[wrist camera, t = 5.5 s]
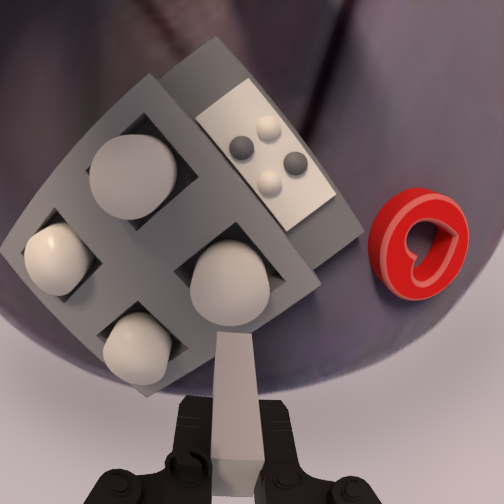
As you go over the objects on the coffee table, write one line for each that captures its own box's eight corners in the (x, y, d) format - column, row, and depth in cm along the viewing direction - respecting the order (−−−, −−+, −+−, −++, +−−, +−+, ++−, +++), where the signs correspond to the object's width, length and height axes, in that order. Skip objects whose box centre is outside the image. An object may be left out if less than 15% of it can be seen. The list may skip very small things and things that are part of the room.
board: (26, 233, 23) (-2, 250, 19) (217, 43, 19) (214, 23, 15) (155, 366, 29) (146, 397, 25) (355, 224, 25) (378, 241, 21)
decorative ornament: (464, 236, 26) (483, 247, 24) (402, 304, 29) (416, 320, 26) (418, 165, 24) (439, 169, 21) (345, 243, 26) (359, 256, 23)
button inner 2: (94, 169, 19) (74, 175, 16) (146, 119, 18) (131, 116, 15) (139, 222, 20) (125, 236, 17) (193, 175, 19) (186, 181, 16)
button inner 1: (34, 246, 21) (15, 259, 18) (65, 207, 20) (45, 217, 17) (72, 289, 22) (56, 307, 20) (105, 254, 22) (90, 270, 19)
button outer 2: (180, 267, 21) (173, 287, 19) (235, 224, 21) (235, 239, 18) (225, 314, 23) (225, 338, 20) (278, 276, 22) (285, 297, 19)
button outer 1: (103, 331, 23) (91, 353, 20) (140, 300, 22) (129, 322, 19) (145, 368, 24) (138, 393, 22) (184, 342, 24) (179, 367, 21)
